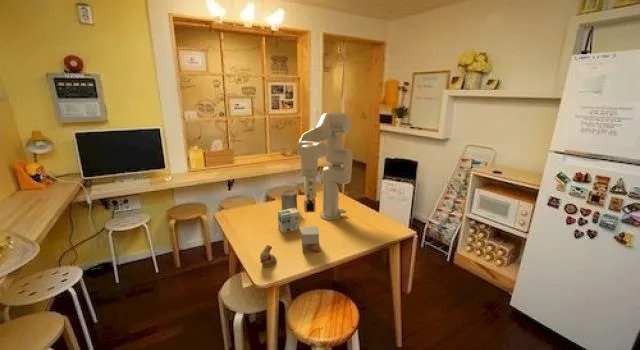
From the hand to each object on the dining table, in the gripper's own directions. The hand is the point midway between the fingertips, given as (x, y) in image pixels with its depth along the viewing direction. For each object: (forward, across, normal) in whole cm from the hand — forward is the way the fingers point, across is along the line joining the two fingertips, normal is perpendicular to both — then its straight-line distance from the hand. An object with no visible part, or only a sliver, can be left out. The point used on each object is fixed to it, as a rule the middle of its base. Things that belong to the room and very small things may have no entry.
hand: (309, 208), depth 135 cm
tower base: (+22, 0, 0) cm, 22 cm away
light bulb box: (+22, +22, +10) cm, 32 cm away
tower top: (+17, 0, 0) cm, 17 cm away
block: (+1, 0, 0) cm, 1 cm away
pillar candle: (+22, +44, +9) cm, 50 cm away
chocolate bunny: (+22, -11, +20) cm, 31 cm away
